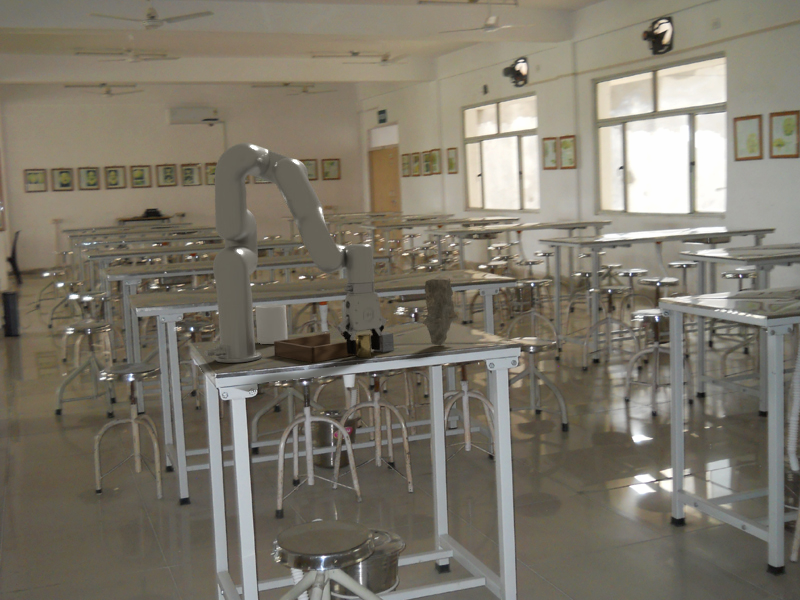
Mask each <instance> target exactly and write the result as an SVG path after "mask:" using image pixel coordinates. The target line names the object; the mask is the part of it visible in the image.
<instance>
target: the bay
mask: <svg viewBox="0 0 800 600" xmlns="http://www.w3.org/2000/svg"><path fill="white" fill-rule="evenodd" d="M354 340H355V341H356V339H354ZM273 347H274V348H273V349H274V356H277V357H281V358H282V357H283V358H286V359H287V358H288V359H291V360H292V359H293V360H297V361H302V362H307V363H317V362H318V363H319V362H321V361H322V362H324V361H328V360H332V359H333V360H334V359H340V358H344V357H350V356H353V355H352V354H348V353H347V341H340V342H334V343H331V333H330V332H325V333H319V334H313V335H312V334H311V335H306V336H305V335H304V336H300V337H295V338H294V337H293V338H287V339H286V340H280V341H274V345H273ZM354 356H357V352H356V354H355V355H354Z"/></svg>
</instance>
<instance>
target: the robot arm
mask: <svg viewBox="0 0 800 600" xmlns="http://www.w3.org/2000/svg"><path fill="white" fill-rule="evenodd" d="M248 176H252V177H255V178H258V179H261V180H263V181H267V182H269V183H272V184H275V185H276V186H277V189H278V191H279V193H280V195H281V197H282V198H283V201H284V203H285V205H286V206H287V208H288V209H289V212H290V215H291V216H292V218H293V221H294V222H295V225H296V227H297V230H298V232H299V235H300V237H301V239H302V242H303V244H304V246H305V249H306V250H307V251H308V254H309V256H310V258H311V260H312V262H313V263H314V265H315V266H316V267H317V269H318V270H319V271H320V272H323V273H326V274H332V273H336V272H337V271H341V270H346V286H345V287H344V291H345V292H347V294H346V295H345V300H344V311H343V312H344V313H343V315H344V316H343V317H344V318H343V320H342V321H341V322H339V324H338V325H337V327H336V328H337V330H338V331H339V333H340V334H341V336H342V337H343V339H344V340H346V341H347V353H348V354H352V355H351V356H356V355H357V354H356V341H355V340H356V339H354V338H356V334H357V333H358V332H363V331H370V342H371V350H372V351H374V350H380V336H381V334H382V332H384V329H385V325H386V323H387V322H388V320H387V319H386V318H385V317H384V316H383V315H382V310H381V302H380V299H379V295H378V292H375V272H374V270H375V269H374V268H375V267H374V266H375V265H374V250H373V246H372V245H371V244H369V243H354V244H353V243H352V244H339V243H335V241H334V239H333V237H332V235H331V232H330V231H329V229H328V226H327V224H326V221H325V216H324V215H325V214H324V208H323V205H322V203H321V201H320V199H319V197H318V194H317V193H316V191H315V190H314V187H313V186H312V184H311V182H310V180H309V171H308V169H307V166H306V165H305V164H304V163H303V162H302V161H301V160H299V159H295V158H292V157H289V156H285V155H284V154H281V153H278V152H275V151H272V150H270V149H267V148H265V147H263V146H259V145H256V144H254V143H249V142H241V143H237V144H235V145H232V146H230V147H229V148H227V149H226V150H225V151H224V152H222V154H221V155H220V157H219V159H218V160H217V162H216V165H215V169H214V211H215V213H214V216H215V224H214V225H215V231H216V233H217V235H218V236H219V237H220V238H221V239H222V240H224V248H221V249H220V250H219V251H218V252H217V253H216V255H215V257H214V259H213V262H212V267H213V269H212V270H213V276H214V277H213V278H214V282H215V288H216V290H215V291H216V299H217V300H216V301H217V312H218V327H219V328H218V329H219V344H216V346H214V348H209V349H205V350H204V353H203V354H204V356H205V357H206V358H207V357H213V356H214V357H215V362H218V363H223V364H224V363H226V364H227V363H232V364H235V363H245V362H252V361H256V360H259V359H261V358H262V352H261V351H260V352H258V351H256V340H255V324H254V323H255V322H254V321H255V320H254V307H253V305H254V304H253V293H252V292H253V291H252V285H251V280H250V276H251V275H252V274H254V272H255V271H256V270H257V269H256V268H257V267H258V262H259V260H258V259H259V255H258V253H259V251H258V250H259V248H258V226H257V220H256V218H255V215H254V214H253V213H252V212H251V210H249V209H248V207H247V206H248V205H247V187H246V178H247V177H248ZM355 354H356V355H355Z"/></svg>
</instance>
